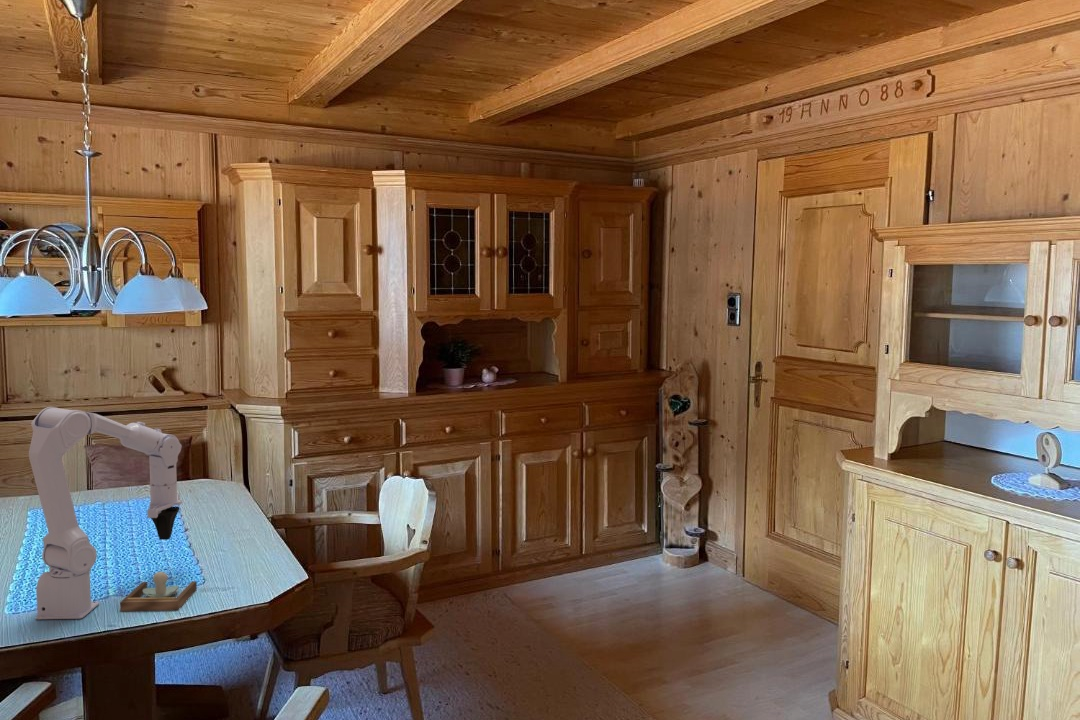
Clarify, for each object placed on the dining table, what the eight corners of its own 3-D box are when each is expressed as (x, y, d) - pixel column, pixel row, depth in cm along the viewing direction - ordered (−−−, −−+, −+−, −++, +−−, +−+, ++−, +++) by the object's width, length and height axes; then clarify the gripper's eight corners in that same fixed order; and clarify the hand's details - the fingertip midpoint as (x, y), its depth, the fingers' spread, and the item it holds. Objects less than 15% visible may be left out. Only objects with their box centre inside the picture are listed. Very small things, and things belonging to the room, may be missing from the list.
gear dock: (120, 611, 169) (120, 600, 169) (142, 590, 181) (142, 580, 181) (178, 610, 170) (177, 599, 170) (196, 589, 182) (196, 580, 182)
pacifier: (146, 593, 180) (141, 603, 174) (145, 566, 179) (140, 575, 174) (181, 590, 182) (177, 599, 176) (180, 564, 182) (176, 572, 176)
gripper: (169, 491, 180) (170, 548, 182) (191, 475, 195) (193, 529, 196) (137, 491, 180) (139, 548, 181) (162, 475, 194) (163, 529, 195)
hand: (165, 538), depth 189 cm, fingers closed
